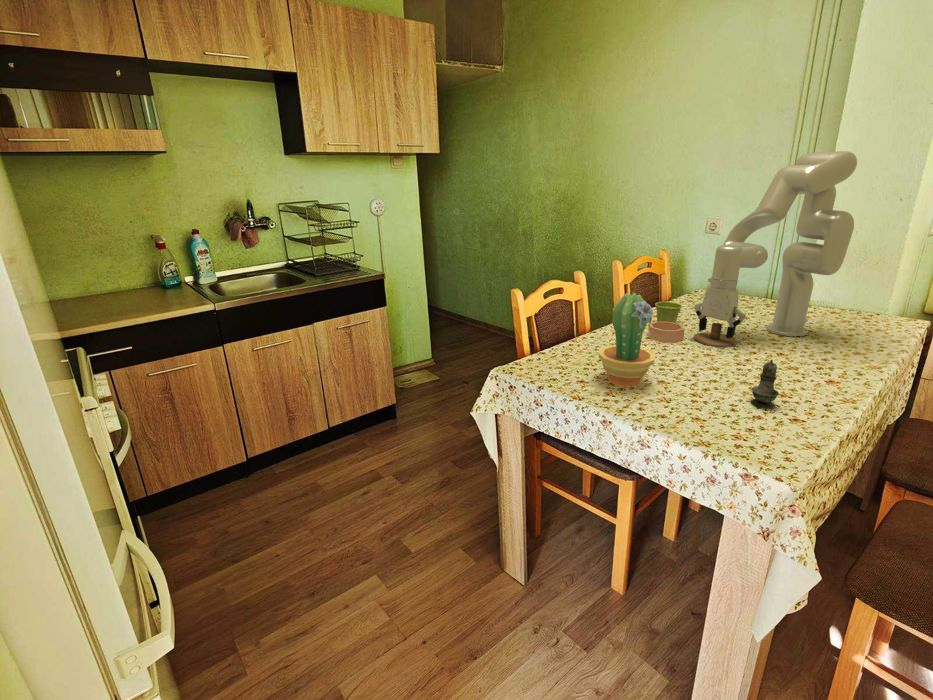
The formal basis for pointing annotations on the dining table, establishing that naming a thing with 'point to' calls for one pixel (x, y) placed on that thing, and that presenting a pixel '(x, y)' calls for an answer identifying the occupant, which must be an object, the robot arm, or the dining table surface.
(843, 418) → the dining table surface
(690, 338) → the mat
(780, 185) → the robot arm
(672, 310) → the plant pot
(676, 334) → the bowl
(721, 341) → the lid
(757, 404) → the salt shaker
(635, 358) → the potted cactus
